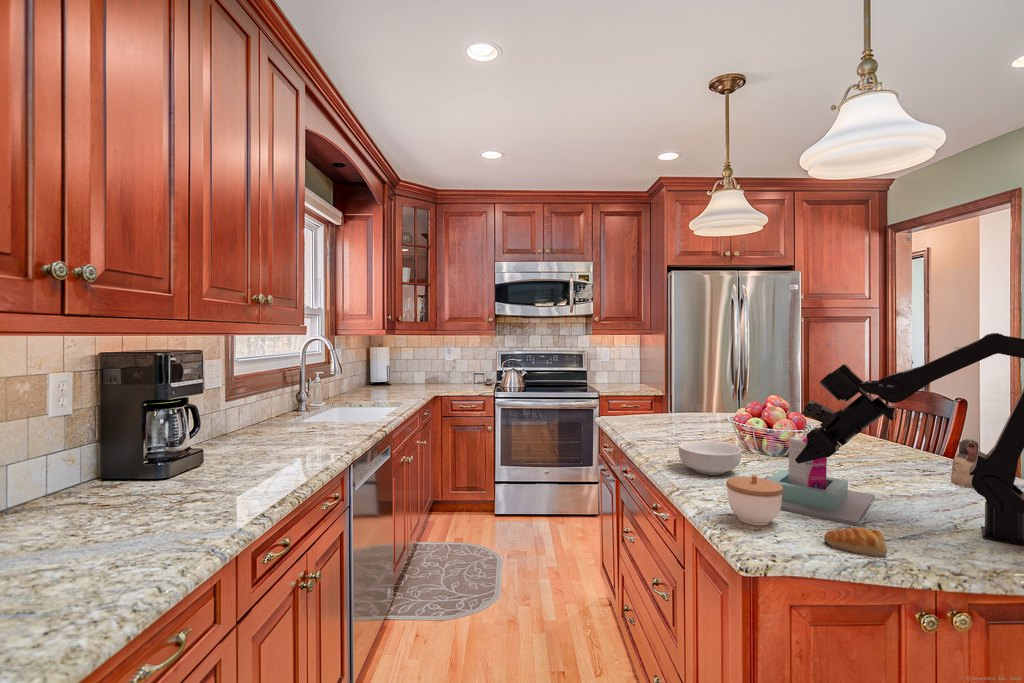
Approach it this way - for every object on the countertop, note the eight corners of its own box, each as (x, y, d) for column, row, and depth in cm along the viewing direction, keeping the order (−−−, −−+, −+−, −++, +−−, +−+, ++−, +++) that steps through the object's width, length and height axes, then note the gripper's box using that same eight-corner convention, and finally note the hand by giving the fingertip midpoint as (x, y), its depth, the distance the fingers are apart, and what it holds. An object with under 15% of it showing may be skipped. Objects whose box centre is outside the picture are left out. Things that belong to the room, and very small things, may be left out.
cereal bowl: (671, 463, 155) (671, 440, 155) (727, 464, 155) (727, 440, 154) (688, 479, 138) (688, 453, 138) (751, 480, 138) (751, 454, 138)
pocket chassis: (874, 498, 123) (875, 480, 123) (857, 526, 105) (857, 505, 105) (766, 478, 139) (767, 462, 139) (735, 500, 121) (736, 481, 121)
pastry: (829, 552, 93) (829, 530, 93) (820, 538, 99) (820, 518, 99) (890, 559, 90) (890, 537, 90) (877, 544, 96) (877, 524, 96)
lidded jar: (742, 530, 102) (742, 483, 102) (717, 511, 113) (717, 469, 113) (794, 529, 103) (794, 482, 103) (764, 510, 114) (764, 468, 114)
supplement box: (805, 492, 118) (804, 442, 118) (787, 484, 124) (787, 437, 124) (827, 490, 119) (827, 441, 119) (809, 483, 125) (809, 436, 125)
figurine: (985, 484, 135) (986, 438, 134) (989, 490, 129) (990, 443, 129) (949, 479, 139) (950, 435, 139) (952, 485, 133) (952, 439, 133)
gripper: (834, 386, 126) (785, 426, 133) (817, 393, 112) (763, 437, 119) (874, 422, 121) (820, 462, 128) (860, 433, 107) (801, 477, 114)
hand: (800, 458), depth 123 cm, fingers closed on supplement box, 8 cm apart
